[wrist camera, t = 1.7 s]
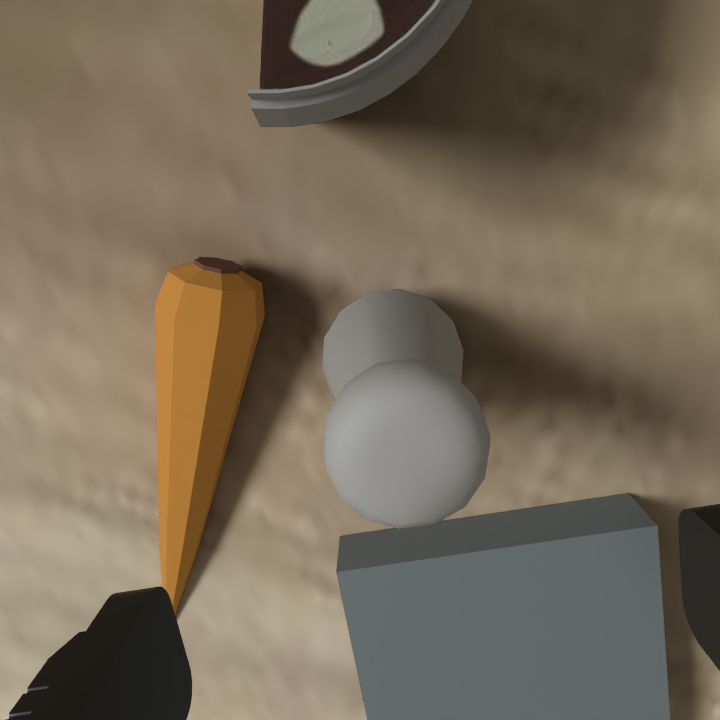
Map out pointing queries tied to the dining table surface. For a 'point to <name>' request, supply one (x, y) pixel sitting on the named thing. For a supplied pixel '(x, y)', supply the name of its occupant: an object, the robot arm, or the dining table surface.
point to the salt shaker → (401, 412)
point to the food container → (344, 54)
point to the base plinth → (510, 615)
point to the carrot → (198, 396)
